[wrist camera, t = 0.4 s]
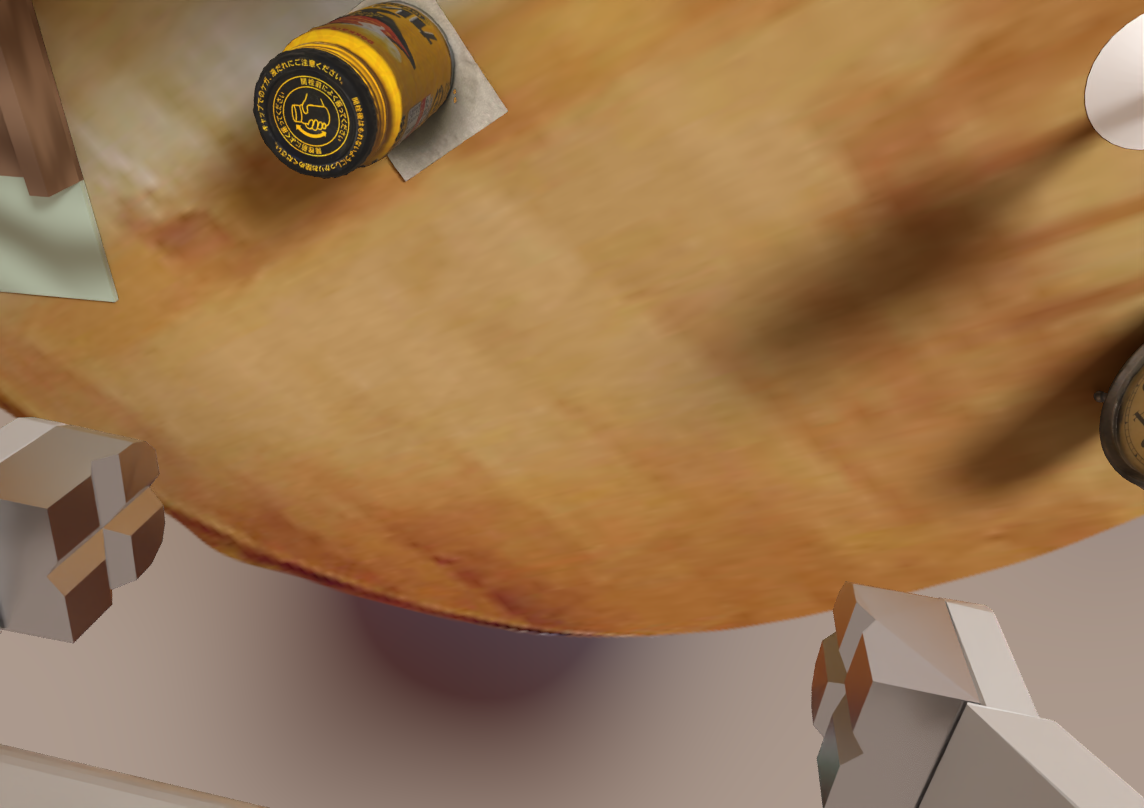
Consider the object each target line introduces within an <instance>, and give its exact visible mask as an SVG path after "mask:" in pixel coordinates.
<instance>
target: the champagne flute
mask: <svg viewBox="0 0 1144 808" xmlns="http://www.w3.org/2000/svg"><path fill="white" fill-rule="evenodd" d="M1085 106H1086V110H1087V114H1088V118H1089V120H1090V122H1091V123H1092V125H1093V127H1094V129H1095V130H1096V131H1097V132H1098V133H1099V134H1100V135H1101V136H1102V137H1103V138H1105V139H1106V140H1108V141H1109V142H1111V143H1112V144H1115V145H1118V146H1120V147H1123V148H1128V149H1136V150H1144V14H1142V15H1140V16H1139V17H1137V18H1136V19H1134V20H1133V21H1131V22H1130V23H1128V24H1127V25H1125V26H1124V27H1123V28H1122V29H1121V30H1120V31H1119V32H1117V33H1116V34H1115V35H1114V36H1113V37H1112V38H1111V40H1110V41H1109V42H1108V43H1107V44H1106V45H1105V47H1104V48H1103V49H1102V51H1101V52H1100V54H1099V55H1098V57H1097V59H1096V60H1095V62H1094V64H1093V66H1092V69H1091V71H1090V74H1089V76H1088V80H1087V85H1086V90H1085Z"/></svg>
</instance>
